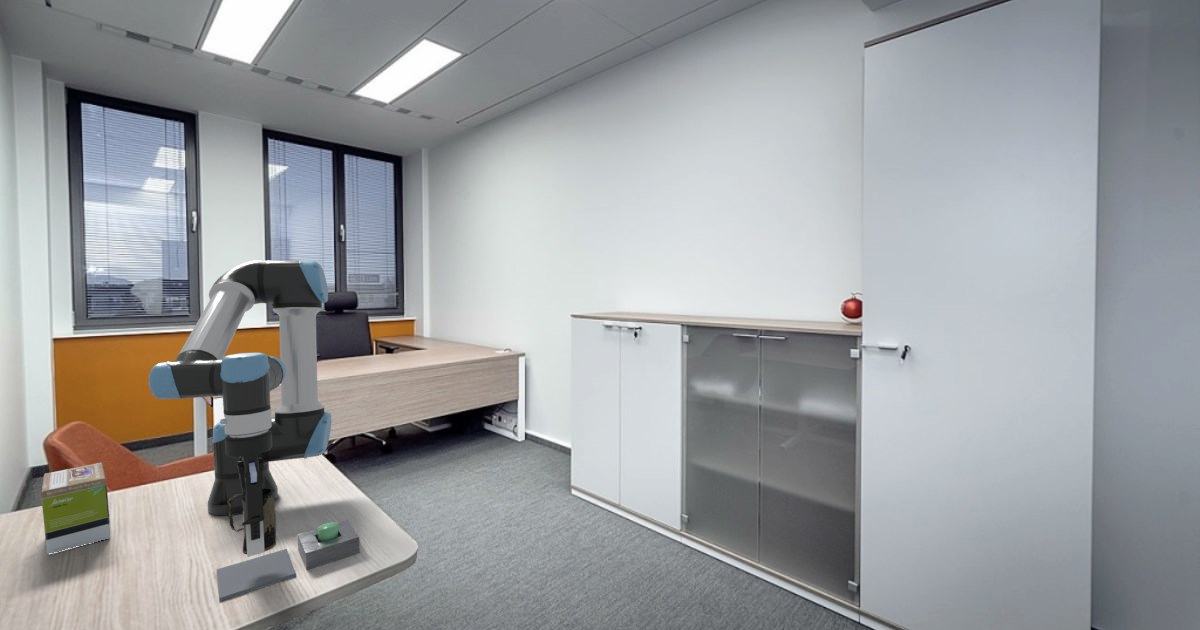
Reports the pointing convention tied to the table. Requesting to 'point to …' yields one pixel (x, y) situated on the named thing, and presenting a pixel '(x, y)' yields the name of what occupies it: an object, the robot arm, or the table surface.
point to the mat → (254, 574)
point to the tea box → (75, 507)
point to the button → (327, 532)
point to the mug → (268, 522)
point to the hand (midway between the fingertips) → (254, 547)
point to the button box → (328, 546)
